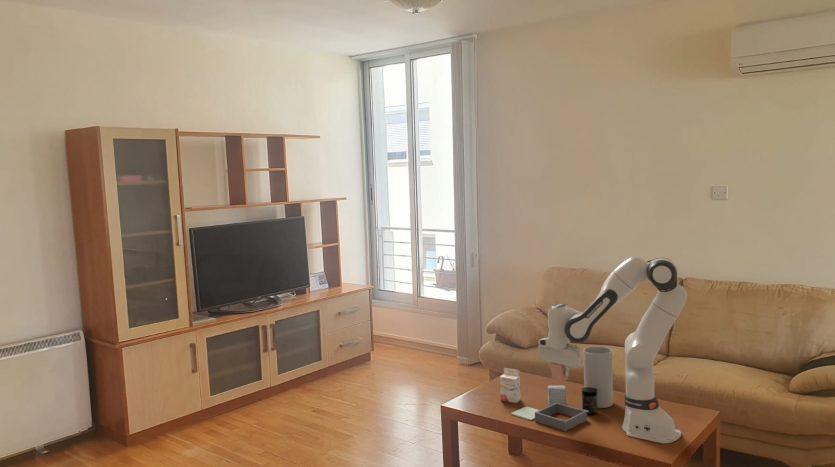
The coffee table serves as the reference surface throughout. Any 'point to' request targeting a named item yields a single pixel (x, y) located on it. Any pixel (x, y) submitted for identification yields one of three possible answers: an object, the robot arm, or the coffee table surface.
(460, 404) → the coffee table surface
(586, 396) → the supplement container
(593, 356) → the cylinder vase
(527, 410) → the pad
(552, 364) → the salmon pink block
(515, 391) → the ink cartridge box
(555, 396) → the medicine box
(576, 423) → the parts bin
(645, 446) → the coffee table surface
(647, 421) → the robot arm
